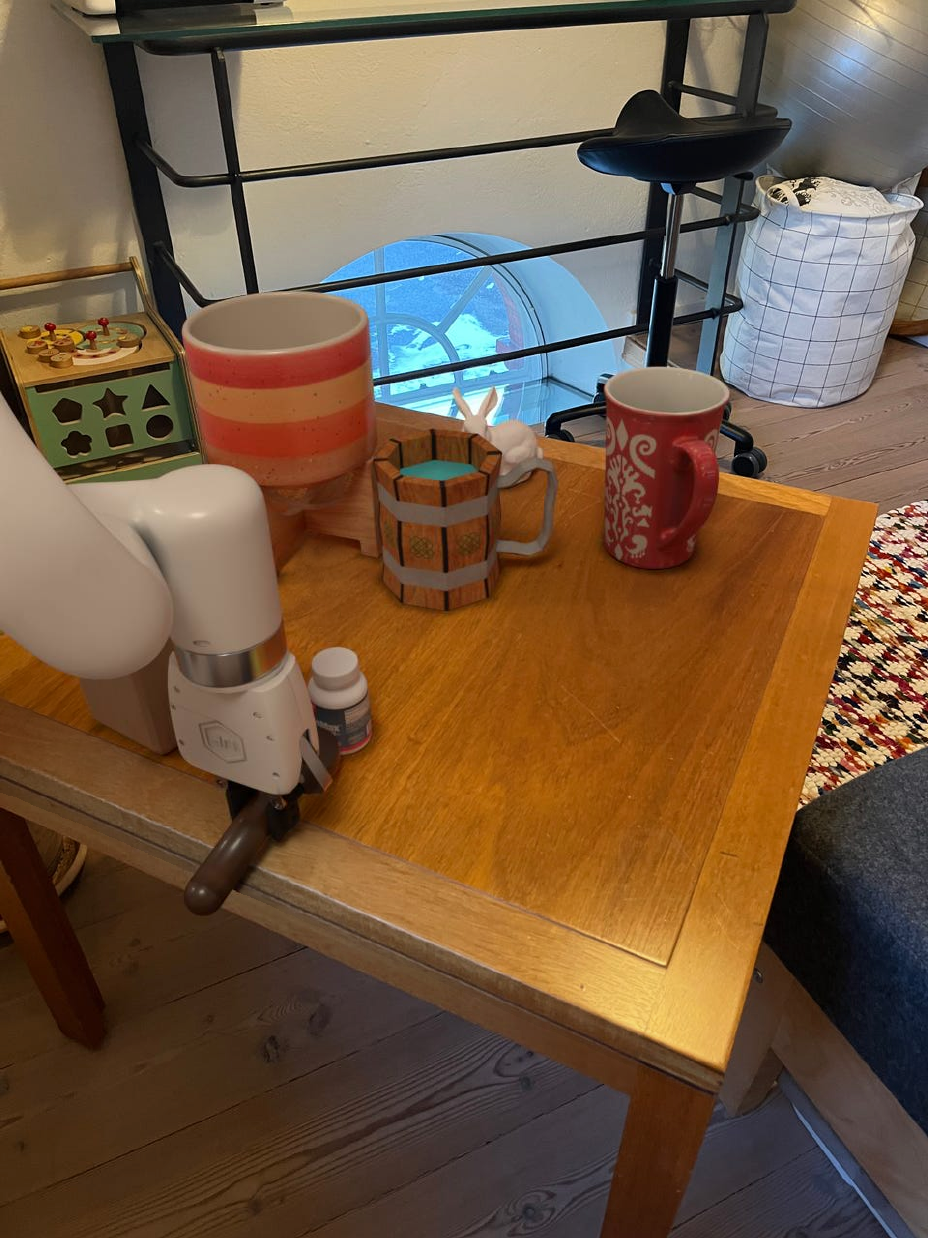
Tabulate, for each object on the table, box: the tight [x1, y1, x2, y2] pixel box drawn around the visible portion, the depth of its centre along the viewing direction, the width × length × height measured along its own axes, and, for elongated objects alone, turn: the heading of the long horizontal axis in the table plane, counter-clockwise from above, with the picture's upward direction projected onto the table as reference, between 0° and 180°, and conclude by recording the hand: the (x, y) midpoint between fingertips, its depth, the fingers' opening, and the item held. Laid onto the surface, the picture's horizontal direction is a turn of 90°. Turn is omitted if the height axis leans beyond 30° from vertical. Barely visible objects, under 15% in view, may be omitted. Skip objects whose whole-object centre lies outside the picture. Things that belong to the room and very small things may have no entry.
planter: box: [181, 290, 383, 577], centre depth 102 cm, size 20×20×27 cm
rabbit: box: [452, 384, 544, 486], centre depth 120 cm, size 12×9×12 cm
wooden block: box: [77, 635, 178, 755], centre depth 80 cm, size 10×10×20 cm
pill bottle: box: [306, 646, 373, 756], centre depth 80 cm, size 5×5×9 cm
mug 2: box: [603, 366, 731, 570], centre depth 100 cm, size 18×13×20 cm
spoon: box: [183, 728, 342, 917], centre depth 73 cm, size 19×5×3 cm, turn 156°
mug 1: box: [373, 428, 559, 612], centre depth 100 cm, size 20×14×15 cm
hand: (266, 820), depth 74 cm, fingers closed on spoon, 3 cm apart
